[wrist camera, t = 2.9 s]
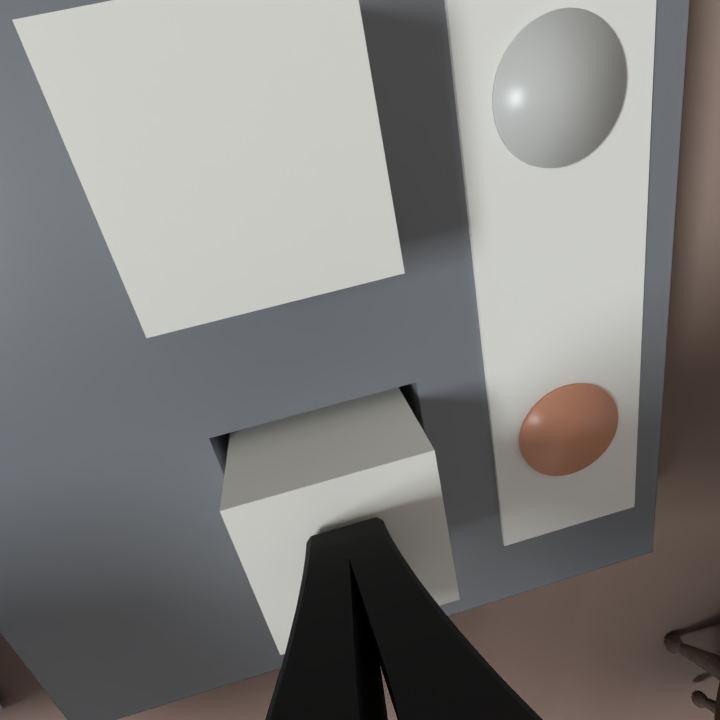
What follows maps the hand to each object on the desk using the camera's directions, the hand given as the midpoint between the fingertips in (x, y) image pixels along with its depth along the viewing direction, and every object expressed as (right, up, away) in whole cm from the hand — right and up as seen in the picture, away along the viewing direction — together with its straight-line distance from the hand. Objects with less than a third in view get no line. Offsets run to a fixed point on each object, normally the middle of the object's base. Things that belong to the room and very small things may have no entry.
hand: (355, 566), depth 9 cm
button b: (-2, +8, 0) cm, 8 cm away
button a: (-1, +1, +3) cm, 3 cm away
